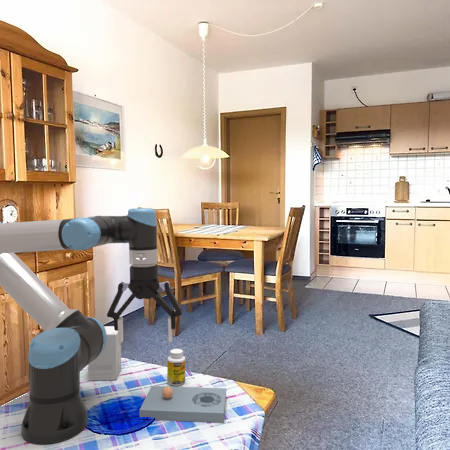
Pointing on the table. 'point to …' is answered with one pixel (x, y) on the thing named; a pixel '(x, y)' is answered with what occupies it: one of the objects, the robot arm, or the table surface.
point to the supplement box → (107, 359)
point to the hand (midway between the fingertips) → (145, 341)
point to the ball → (167, 392)
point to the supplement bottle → (176, 368)
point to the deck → (185, 404)
